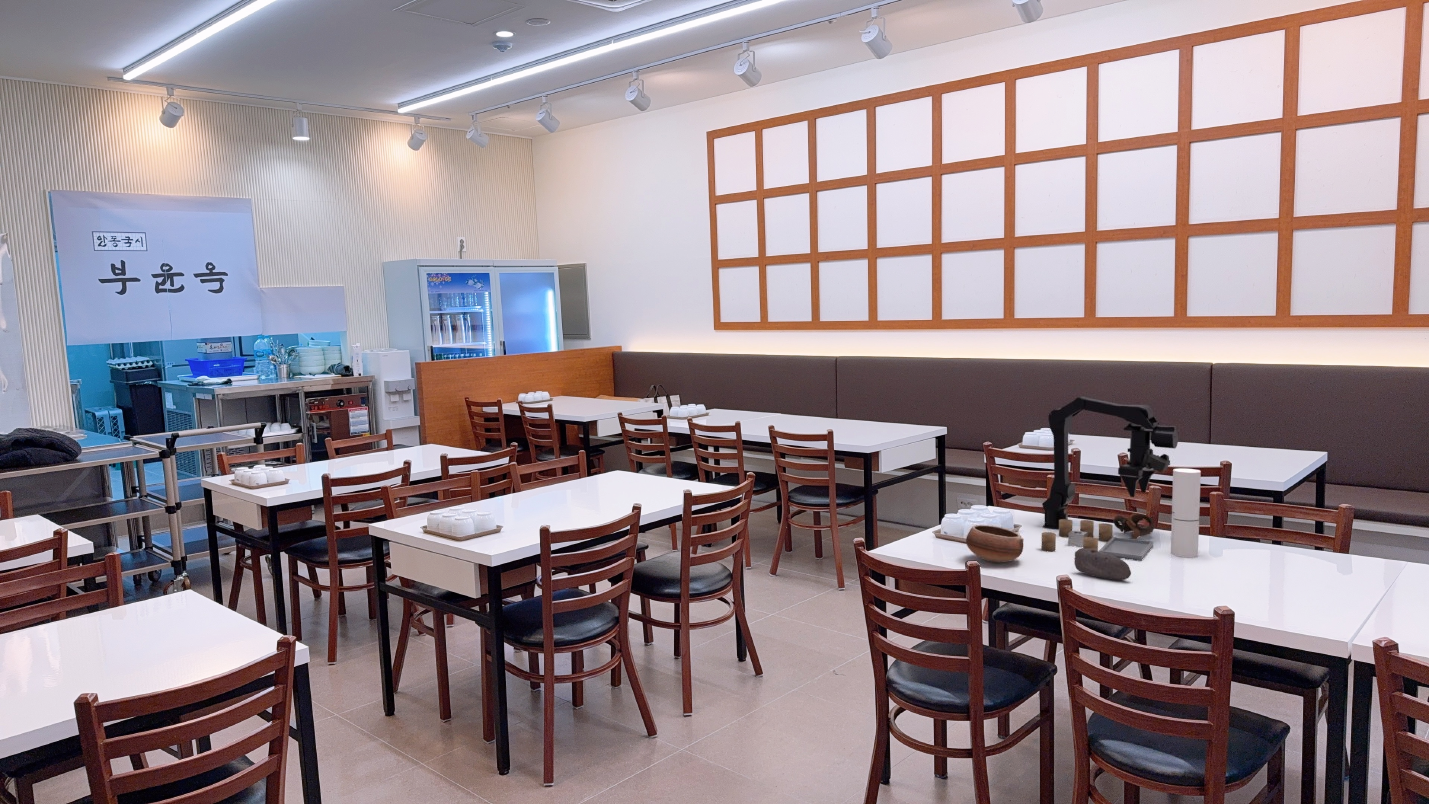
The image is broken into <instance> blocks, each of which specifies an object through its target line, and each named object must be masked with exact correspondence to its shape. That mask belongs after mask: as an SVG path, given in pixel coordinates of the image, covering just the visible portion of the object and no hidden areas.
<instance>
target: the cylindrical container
mask: <svg viewBox="0 0 1429 804" xmlns="http://www.w3.org/2000/svg"><path fill="white" fill-rule="evenodd" d="M1201 473H1202V471H1201V470H1200V469H1195V468H1194V469H1193V468H1183V467H1181V468H1173V470H1172V494H1171V495H1172V497H1171V527H1170V529H1171V530H1170V531H1171V533H1170V537H1171V538H1170V554H1171V556H1174V557H1177V558H1187V559H1189V558H1190V559H1193V558H1197V556H1198V557H1199V534H1200V533H1199V532H1200V531H1199V530H1200V502H1201V500H1200V499H1201Z"/></svg>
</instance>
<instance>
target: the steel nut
mask: <svg viewBox="0 0 1429 804" xmlns="http://www.w3.org/2000/svg"><path fill="white" fill-rule="evenodd" d="M1084 537H1087V532H1082V531H1080V530H1073V529H1072V531H1071V532H1069V533H1068V537H1067V538H1068V539H1067V540H1068V542H1067V544H1068V545H1067V546H1068V547H1074V546H1076V547H1075V548H1082V547H1083V538H1084Z"/></svg>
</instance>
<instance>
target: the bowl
mask: <svg viewBox="0 0 1429 804" xmlns="http://www.w3.org/2000/svg"><path fill="white" fill-rule="evenodd" d="M965 540H966V541H965V543H966V547H967V548H968V549H969V551H970V552H971V553H973V554H974V555H976V557H979V558H981V559H983V560H985V561H987V562H990V563H996V562H999V563H998V564H1000V562H1002V563H1006V562H1007V563H1008V562H1011V561H1014V560H1016V559H1017V558H1019V557H1020V556H1021V555H1022V554H1023V551H1024V538H1023V537H1022V536H1021V534H1019V533H1018V532H1015V531H1014V530H1011V529H1009V528H1006V527H1005V528H1004V527H1002V526H996V525H995V526H994V525H987V524H976V525H973V526H972V527H971V528H970V529H969V531H968V532H967V535H966V538H965Z"/></svg>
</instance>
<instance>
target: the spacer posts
mask: <svg viewBox="0 0 1429 804" xmlns="http://www.w3.org/2000/svg"><path fill="white" fill-rule="evenodd" d="M1079 522H1080V523H1079V531H1082V532H1087V537H1084V538H1083V548H1086V549H1091V550H1095V551H1099V542H1102V543H1107V542H1108V541H1109V540H1110V539H1111V538H1112V537H1113V532H1114V531H1113V524H1111V523H1106V522H1105V523H1098V538H1097V537H1094V536H1095V535H1094V533H1095V532H1094V528H1095V524H1094V523H1095V521H1093V520H1089V519H1082V520H1080V521H1079ZM1073 523H1074V522H1073V520H1072V519H1069V518H1068V519H1060V520H1059V529H1058V536H1059V537H1061V538H1068V533H1069V532H1071V531H1072V530H1073ZM1056 537H1057V534H1056V533H1054V532H1050V531H1048V532H1047V531H1046V532H1045V531H1043V532H1041V551H1043V552H1047V551H1048V552H1049V553H1050V552H1056V551H1057V550H1056V541H1057V539H1056ZM1055 550H1056V551H1055Z"/></svg>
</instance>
